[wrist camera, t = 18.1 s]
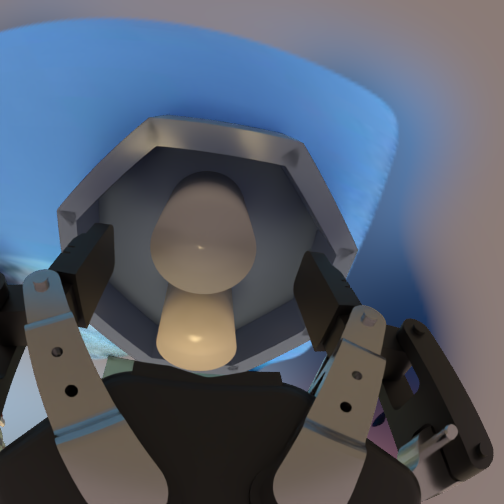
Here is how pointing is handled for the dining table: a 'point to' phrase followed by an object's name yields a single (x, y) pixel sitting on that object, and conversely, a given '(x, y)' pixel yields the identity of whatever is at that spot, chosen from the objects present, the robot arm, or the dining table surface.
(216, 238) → the beige rounded piece
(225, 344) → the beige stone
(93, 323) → the bowl
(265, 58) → the dining table surface
